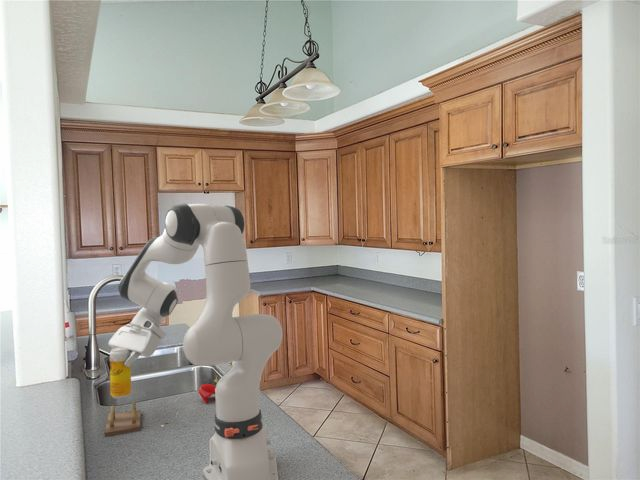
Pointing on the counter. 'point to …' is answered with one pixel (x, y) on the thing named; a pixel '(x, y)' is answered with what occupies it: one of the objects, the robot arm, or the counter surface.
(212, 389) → the cap
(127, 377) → the glass of beer
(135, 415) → the standoff plate
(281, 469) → the counter surface
